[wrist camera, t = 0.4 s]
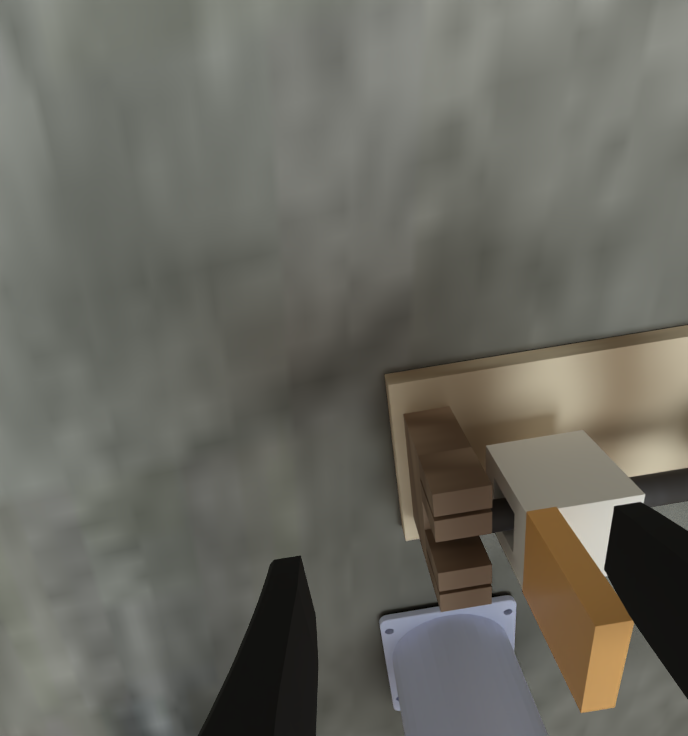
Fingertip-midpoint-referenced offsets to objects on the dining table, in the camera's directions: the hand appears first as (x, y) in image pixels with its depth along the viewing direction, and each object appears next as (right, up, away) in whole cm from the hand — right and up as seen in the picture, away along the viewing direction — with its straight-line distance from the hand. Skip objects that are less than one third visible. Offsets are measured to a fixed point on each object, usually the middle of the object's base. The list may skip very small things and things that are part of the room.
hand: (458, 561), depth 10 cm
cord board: (+9, +2, +11) cm, 14 cm away
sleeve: (+5, 0, +9) cm, 10 cm away
